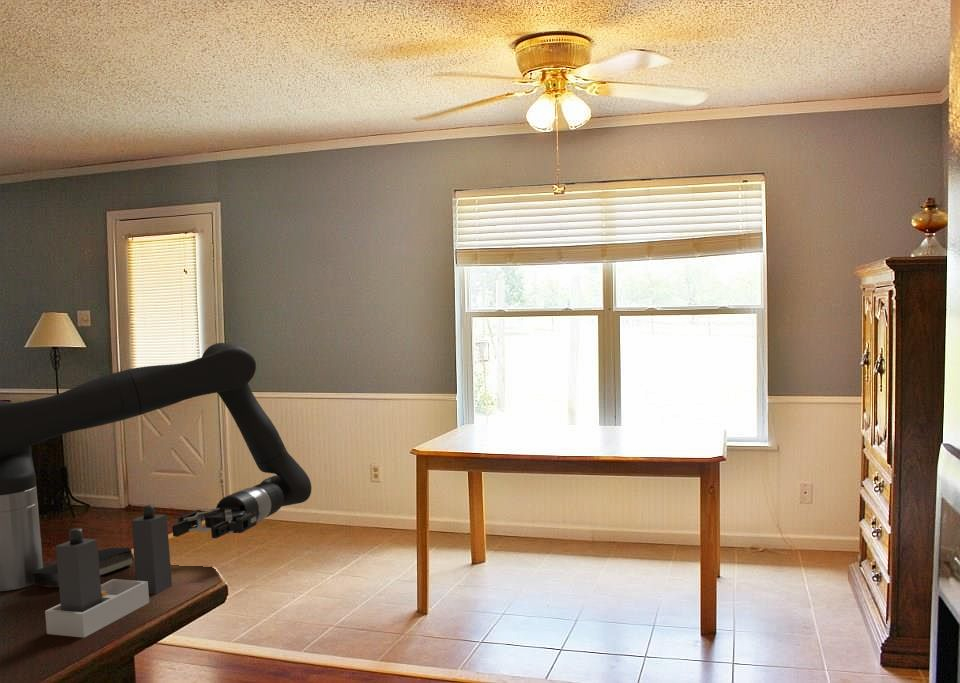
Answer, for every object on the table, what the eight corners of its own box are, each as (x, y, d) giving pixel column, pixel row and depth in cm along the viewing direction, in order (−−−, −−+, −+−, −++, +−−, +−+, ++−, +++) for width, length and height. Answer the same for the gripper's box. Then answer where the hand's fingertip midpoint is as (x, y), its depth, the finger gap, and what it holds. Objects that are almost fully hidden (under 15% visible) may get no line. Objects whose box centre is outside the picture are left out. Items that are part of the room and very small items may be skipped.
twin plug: (83, 632, 123) (75, 534, 122) (62, 630, 124) (54, 533, 124) (103, 621, 127) (96, 526, 126) (82, 620, 128) (75, 525, 127)
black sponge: (58, 595, 143) (56, 574, 143) (29, 588, 147) (28, 568, 147) (139, 566, 157) (137, 548, 157) (111, 561, 161) (109, 543, 161)
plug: (156, 597, 138) (149, 509, 138) (137, 595, 140) (130, 508, 139) (172, 588, 142) (165, 503, 141) (153, 587, 143) (146, 502, 143)
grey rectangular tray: (84, 640, 121) (82, 610, 121) (47, 636, 124) (44, 606, 123) (149, 605, 135) (147, 577, 134) (114, 602, 137) (112, 575, 137)
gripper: (213, 490, 169) (159, 511, 153) (273, 491, 164) (224, 513, 149) (215, 525, 169) (162, 550, 154) (276, 528, 165) (228, 554, 149)
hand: (193, 532), depth 151 cm, fingers open, 8 cm apart
